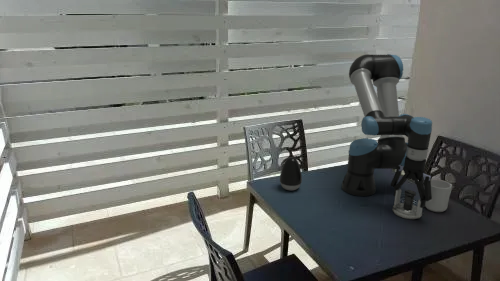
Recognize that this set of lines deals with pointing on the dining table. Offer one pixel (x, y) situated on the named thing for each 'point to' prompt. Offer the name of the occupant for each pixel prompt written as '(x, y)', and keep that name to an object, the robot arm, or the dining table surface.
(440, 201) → the mug
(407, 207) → the lid
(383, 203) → the dining table surface
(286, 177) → the black egg-shaped figure
